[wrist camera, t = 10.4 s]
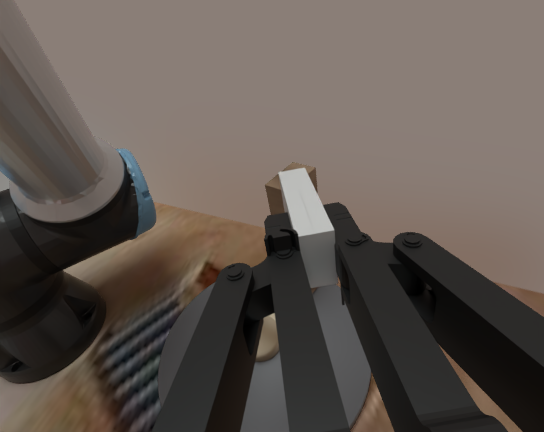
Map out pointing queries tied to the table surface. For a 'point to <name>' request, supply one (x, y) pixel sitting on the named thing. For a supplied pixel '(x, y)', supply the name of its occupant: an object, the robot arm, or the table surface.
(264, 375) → the dial plate
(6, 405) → the table surface
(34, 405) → the table surface
